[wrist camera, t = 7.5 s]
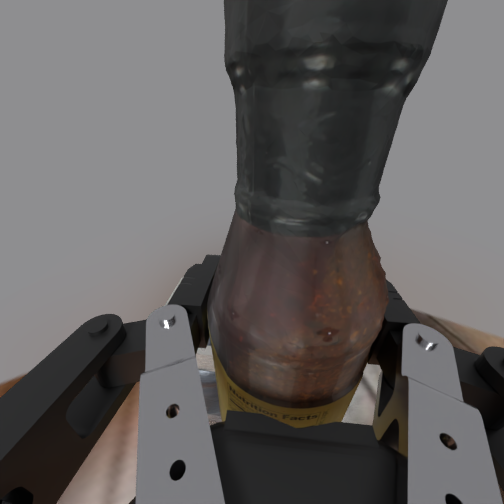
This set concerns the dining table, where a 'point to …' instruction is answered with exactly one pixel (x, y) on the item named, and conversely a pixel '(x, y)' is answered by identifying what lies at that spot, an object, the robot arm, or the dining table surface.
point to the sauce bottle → (309, 197)
